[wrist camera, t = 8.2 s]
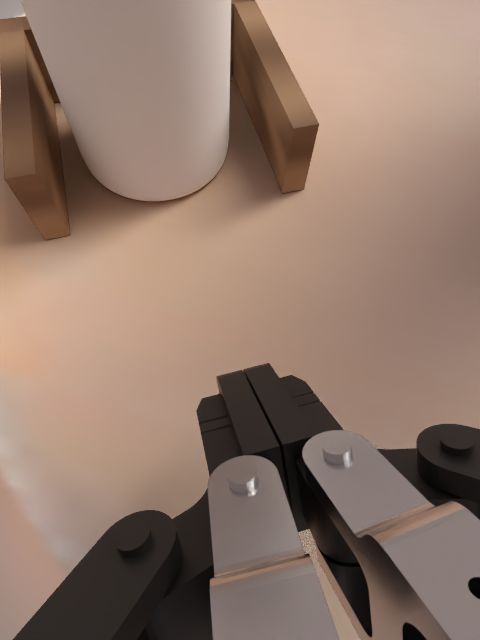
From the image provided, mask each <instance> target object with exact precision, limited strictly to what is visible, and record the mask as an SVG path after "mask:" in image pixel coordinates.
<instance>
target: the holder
mask: <svg viewBox="0 0 480 640" xmlns="http://www.w3.org/2000/svg"><path fill="white" fill-rule="evenodd" d="M230 76H234V78H235V81H236V83H237V85H238V88H239V90H240V93H241V95H242V97H243V100H244V102H245V105H246V107H247V109H248V112H249V114H250V117H251V119H252V121H253V124H254V126H255V129H256V131H257V133H258V136H259V138H260V140H261V143H262V145H263V148H264V150H265V152H266V155H267V157H268V160H269V162H270V164H271V167H272V169H273V172H274V174H275V176H276V179H277V181H278V184H279V186H280V188H281V191H282V193H287V192H292V191H297V190H302V189H304V187H305V182H306V178H307V174H308V170H309V165H310V161H311V157H312V152H313V148H314V144H315V139H316V135H317V131H318V126H319V123H318V121H317V119H316V117H315V115H314V113H313V111H312V109H311V107H310V105H309V104H308V102H307V100H306V98H305V96H304V94H303V92H302V90H301V88H300V86H299V84H298V82H297V80H296V78H295V76H294V75H293V73H292V71H291V69H290V67H289V65H288V63H287V61H286V59H285V57H284V55H283V53H282V51H281V49H280V47H279V46H278V44H277V42H276V40H275V38H274V36H273V34H272V32H271V30H270V28H269V26H268V24H267V22H266V20H265V18H264V16H263V15H262V13H261V11H260V9H259V7H258V5H257V3H256V1H255V0H231V46H230ZM0 77H1V103H2V129H3V154H4V179H5V180H6V182H7V183H8V185H9V186H10V188H11V189H12V191H13V192H14V194H15V195H16V197H17V198H18V200H19V201H20V203H21V204H22V206H23V207H24V209H25V210H26V212H27V213H28V215H29V216H30V218H31V219H32V221H33V222H34V224H35V225H36V227H37V229H38V230H39V232H40V233H41V235H42V236H43V238H44V239H45V240H48V239H53V238H59V237H64V236H69V235H70V228H69V220H68V212H67V203H66V195H65V187H64V179H63V170H62V162H61V154H60V146H59V137H58V129H57V121H56V112H55V104H54V103H56V102H60V100H59V98H58V95H57V93H56V90H55V88H54V85H53V82H52V80H51V77H50V75H49V72H48V70H47V67H46V65H45V62H44V60H43V57H42V55H41V52H40V50H39V47H38V45H37V42H36V40H35V37H34V34H33V32H32V29H31V27H30V24H29V22H28V19H27V17H26V16H25V17H16V18H8V19H0Z"/></svg>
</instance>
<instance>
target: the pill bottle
mask: <svg viewBox="0 0 480 640" xmlns="http://www.w3.org/2000/svg"><path fill="white" fill-rule="evenodd" d="M20 1H21V4H22V6H23V9H24V12H25V14H26V17H27V19H28V22H29V24H30V27H31V29H32V32H33V34H34V37H35V40H36V42H37V45H38V47H39V50H40V52H41V55H42V57H43V60H44V62H45V65H46V67H47V70H48V72H49V75H50V77H51V80H52V82H53V85H54V88H55V90H56V93H57V95H58V98H59V100H60V103H61V105H62V108H63V110H64V113H65V115H66V118H67V120H68V123H69V125H70V128H71V130H72V133H73V135H74V138H75V141H76V143H77V146H78V148H79V151H80V153H81V156H82V158H83V160H84V161H85V163H86V165H87V167H88V169H89V170H90V172H91V173H92V175H93V176H94V177H95V178H96V179H97V180H98V181H99V182H100V183H101V184H102V185H104V186H105V187H106V188H108V189H109V190H111V191H113V192H115V193H117V194H119V195H121V196H124V197H127V198H131V199H135V200H141V201H165V200H172V199H176V198H180V197H183V196H186V195H189V194H191V193H193V192H195V191H197V190H199V189H200V188H202V187H203V186H205V185H206V184H207V183H209V182H210V181H211V180H212V179H213V178H214V177H215V176H216V174H217V173H218V172H219V170H220V169H221V167H222V165H223V163H224V161H225V158H226V154H227V150H228V142H229V109H230V46H231V0H20Z"/></svg>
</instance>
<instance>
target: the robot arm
mask: <svg viewBox="0 0 480 640" xmlns="http://www.w3.org/2000/svg"><path fill="white" fill-rule="evenodd" d="M216 378H217V383H218V388H219V393H220V394H218V395H214V396H210V397H206V398H203V399H202V400H201V402H200V404H199V406H198V409H197V416H198V421H199V426H200V431H201V435H202V440H203V445H204V450H205V455H206V460H207V465H208V470H209V476H210V478H209V481H208V488H207V490H206V492H205V494H204V495H203V496H202V498H201V499H200V500H199V501H198V502H197V503H196V504H195V505H194V506H192V507H191V508H190V509H188V510H187V511H185V512H184V513H182V514H180V515H178V516H177V517H175V518H173V519H171V518H170V517H169V516H168V515H166V514H165V513H162V512H160V511H155V510H146V511H140V512H136V513H133V514H130V515H128V516H126V517H124V518H122V519H121V520H119V521H118V522H116V523H115V524H114V525H113V526H111V527H110V528H109V529H108V530H107V531H106V532H105V534H104V535H103V536H102V537H101V538H100V539H99V540H98V542H97V543H96V544H95V545H94V546H93V547H92V549H91V550H90V551H89V552H88V553H87V554H86V556H85V557H84V558H83V559H82V560H81V561H80V562H79V564H78V565H77V566H76V567H75V568H74V569H73V571H72V572H71V573H70V574H69V575H68V576H67V577H66V579H65V580H64V581H63V582H62V583H61V584H60V586H59V587H58V588H57V589H56V590H55V591H54V593H53V594H52V595H51V596H50V597H49V598H48V599H47V601H46V602H45V603H44V604H43V605H42V606H41V608H40V609H39V610H38V611H37V612H36V614H35V615H34V616H33V617H32V618H31V619H30V621H28V623H27V624H26V625H25V626H24V627H23V628H22V630H21V631H20V632H19V633H18V634H17V636H16V637H15V638H14V639H13V640H339V637H338V635H337V632H336V629H335V626H334V623H333V620H332V617H331V614H330V611H329V608H328V605H327V602H326V599H325V596H324V593H323V590H322V587H321V584H320V582H319V579H318V576H317V573H316V570H315V567H314V564H313V562H312V559H311V557H310V555H309V554H305V552H304V549H303V546H302V543H301V540H300V537H299V534H298V532H300V531H303V530H306V529H310V531H311V533H312V535H313V538H314V540H315V546H316V552H317V558H318V561H319V564H320V566H321V567H322V569H323V571H324V573H325V575H326V577H327V579H328V580H329V582H330V584H331V586H332V588H333V590H334V591H335V593H336V595H337V597H338V599H339V601H340V603H341V604H342V606H343V608H344V610H345V612H346V614H347V615H348V617H349V619H350V621H351V623H352V625H353V627H354V628H355V630H356V632H357V634H358V636H359V638H360V639H361V640H480V429H476V428H472V427H468V426H463V425H457V424H440V425H435V426H432V427H429V428H427V429H425V430H424V431H422V432H421V433H420V434H419V436H418V438H417V448H414V449H393V450H383V449H376V448H375V447H374V446H373V445H372V444H371V443H370V442H369V441H367V440H366V439H365V438H364V437H362V436H360V435H358V434H356V433H353V432H349V431H344V430H343V429H342V428H341V426H340V425H339V424H338V423H337V421H336V420H335V419H334V418H333V416H332V415H331V414H330V412H329V411H328V410H327V409H326V407H325V406H324V405H323V404H322V402H320V400H319V398H318V397H317V396H316V395H315V394H314V393H313V391H312V390H311V388H310V387H309V386H308V384H307V383H306V382H305V381H303V380H301V379H299V378H297V377H294V376H292V375H290V376H286V377H282V378H279V377H278V376H277V374H276V373H275V371H274V370H273V368H272V367H271V365H270V364H269V363H267V364H263V365H259V366H255V367H251V368H247V369H244V370H243V371H242V370H240V371H236V372H232V373H228V374H224V375H220V376H216Z"/></svg>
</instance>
